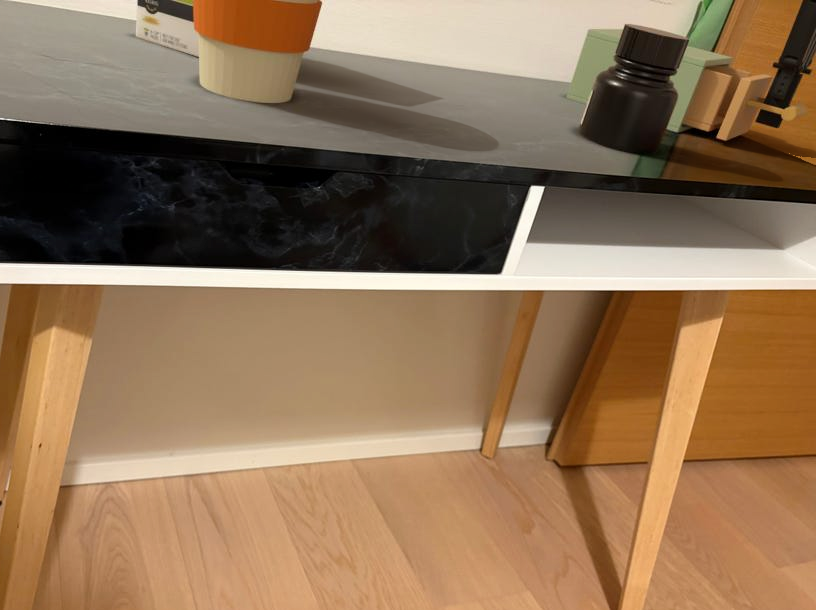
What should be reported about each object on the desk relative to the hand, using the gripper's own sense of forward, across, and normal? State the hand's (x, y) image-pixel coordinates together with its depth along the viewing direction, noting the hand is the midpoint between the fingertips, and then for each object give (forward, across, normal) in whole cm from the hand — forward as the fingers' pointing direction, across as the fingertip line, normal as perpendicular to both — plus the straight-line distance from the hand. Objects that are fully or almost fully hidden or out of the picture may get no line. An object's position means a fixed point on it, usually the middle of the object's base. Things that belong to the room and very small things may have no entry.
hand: (767, 124), depth 101 cm
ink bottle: (+3, +24, -10) cm, 26 cm away
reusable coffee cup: (+3, +56, -37) cm, 67 cm away
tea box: (+3, +47, -51) cm, 70 cm away
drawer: (+2, 0, -7) cm, 7 cm away
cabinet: (+3, 0, -16) cm, 17 cm away
